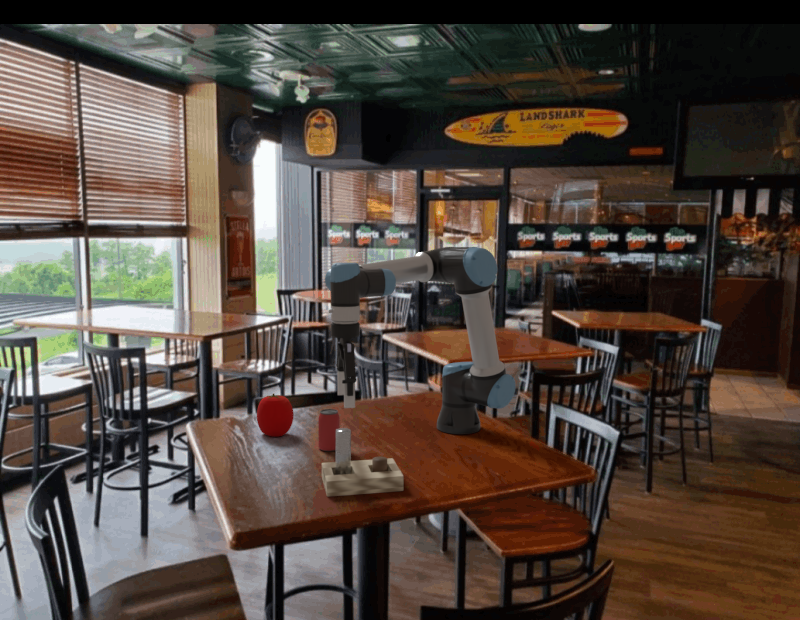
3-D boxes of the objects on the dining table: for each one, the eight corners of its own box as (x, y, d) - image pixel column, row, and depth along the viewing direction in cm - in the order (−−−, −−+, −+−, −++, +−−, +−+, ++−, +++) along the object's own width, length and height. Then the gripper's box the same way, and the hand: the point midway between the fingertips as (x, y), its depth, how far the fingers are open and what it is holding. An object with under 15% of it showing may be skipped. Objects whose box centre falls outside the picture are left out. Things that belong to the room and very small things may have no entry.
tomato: (249, 437, 213) (248, 395, 212) (268, 428, 224) (267, 387, 222) (281, 442, 209) (281, 399, 207) (300, 432, 219) (299, 391, 217)
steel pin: (349, 478, 175) (349, 427, 174) (351, 483, 171) (351, 432, 170) (334, 478, 174) (334, 428, 173) (336, 484, 170) (336, 432, 169)
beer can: (336, 452, 199) (336, 414, 197) (315, 451, 200) (315, 413, 199) (342, 446, 205) (342, 409, 204) (322, 444, 206) (322, 407, 205)
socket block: (392, 471, 183) (392, 449, 182) (403, 490, 169) (403, 466, 169) (321, 476, 179) (321, 454, 178) (326, 496, 165) (326, 472, 164)
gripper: (326, 316, 181) (326, 390, 183) (336, 329, 156) (337, 414, 159) (352, 315, 182) (353, 389, 185) (367, 328, 158) (367, 412, 161)
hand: (345, 401), depth 172 cm, fingers open, 13 cm apart
